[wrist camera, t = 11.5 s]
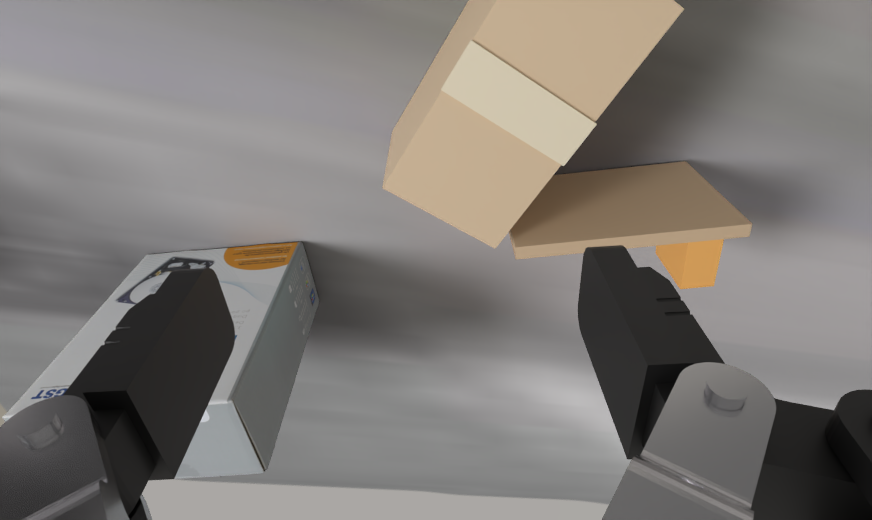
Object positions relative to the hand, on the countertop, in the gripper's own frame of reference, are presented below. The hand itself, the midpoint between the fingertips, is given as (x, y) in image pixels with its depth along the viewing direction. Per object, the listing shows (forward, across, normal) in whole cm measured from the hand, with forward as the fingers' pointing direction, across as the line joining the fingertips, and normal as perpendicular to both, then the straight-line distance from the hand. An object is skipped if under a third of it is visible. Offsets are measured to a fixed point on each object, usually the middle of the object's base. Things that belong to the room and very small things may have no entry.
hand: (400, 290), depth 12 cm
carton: (+33, -6, +3) cm, 34 cm away
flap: (+33, -14, +15) cm, 38 cm away
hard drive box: (+33, +20, +22) cm, 44 cm away
